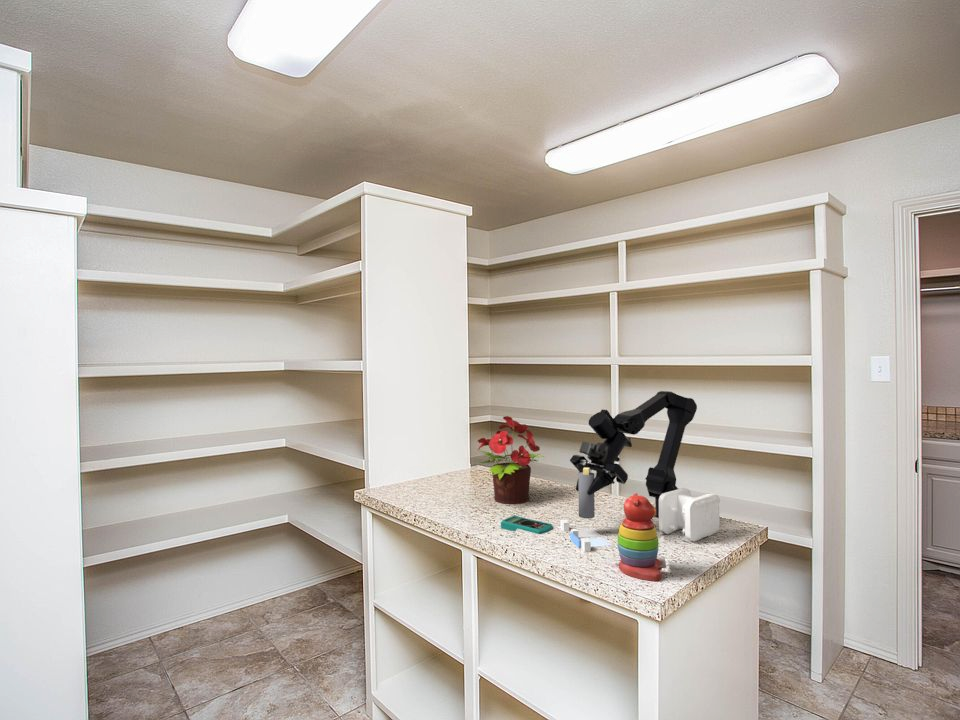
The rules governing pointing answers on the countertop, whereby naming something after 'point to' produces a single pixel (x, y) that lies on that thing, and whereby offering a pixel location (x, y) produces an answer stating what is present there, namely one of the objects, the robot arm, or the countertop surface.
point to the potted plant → (510, 464)
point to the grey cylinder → (584, 499)
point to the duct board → (584, 542)
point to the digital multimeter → (525, 525)
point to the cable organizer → (689, 513)
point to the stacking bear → (639, 540)
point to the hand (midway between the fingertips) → (582, 492)
